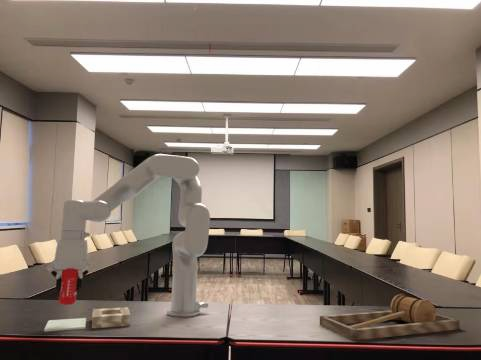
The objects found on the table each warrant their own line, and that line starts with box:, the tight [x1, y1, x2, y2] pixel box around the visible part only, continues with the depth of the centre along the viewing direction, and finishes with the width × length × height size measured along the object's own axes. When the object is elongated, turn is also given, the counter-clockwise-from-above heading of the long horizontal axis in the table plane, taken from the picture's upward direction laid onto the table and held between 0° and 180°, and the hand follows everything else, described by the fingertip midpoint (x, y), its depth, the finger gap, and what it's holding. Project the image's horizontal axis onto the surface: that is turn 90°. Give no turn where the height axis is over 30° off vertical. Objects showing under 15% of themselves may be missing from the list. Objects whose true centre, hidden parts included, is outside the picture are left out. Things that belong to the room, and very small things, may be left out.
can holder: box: [91, 306, 132, 329], centre depth 130 cm, size 12×12×4 cm
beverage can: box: [58, 268, 79, 306], centre depth 126 cm, size 5×5×12 cm
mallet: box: [348, 293, 437, 329], centre depth 131 cm, size 12×38×10 cm, turn 113°
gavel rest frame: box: [319, 310, 461, 341], centre depth 132 cm, size 45×19×3 cm, turn 111°
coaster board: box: [43, 317, 87, 333], centre depth 125 cm, size 12×12×1 cm
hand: (68, 289), depth 126 cm, fingers closed on beverage can, 5 cm apart
